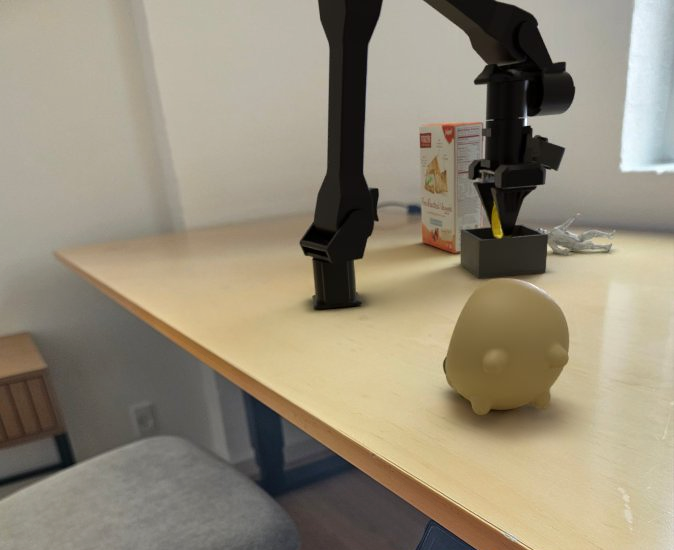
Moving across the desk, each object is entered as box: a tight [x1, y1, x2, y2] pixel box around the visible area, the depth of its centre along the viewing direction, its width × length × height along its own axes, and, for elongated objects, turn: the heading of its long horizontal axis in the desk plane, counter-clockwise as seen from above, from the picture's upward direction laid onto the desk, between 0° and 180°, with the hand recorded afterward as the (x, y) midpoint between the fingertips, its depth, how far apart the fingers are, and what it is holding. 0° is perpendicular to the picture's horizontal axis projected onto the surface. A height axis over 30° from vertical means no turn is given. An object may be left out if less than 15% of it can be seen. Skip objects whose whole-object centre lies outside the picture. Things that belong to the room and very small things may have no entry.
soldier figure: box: [537, 212, 616, 255], centre depth 110 cm, size 8×5×12 cm
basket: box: [460, 223, 548, 280], centre depth 102 cm, size 11×10×6 cm
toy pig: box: [442, 277, 570, 416], centre depth 54 cm, size 10×12×11 cm
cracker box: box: [419, 121, 485, 254], centre depth 118 cm, size 14×6×21 cm, turn 17°
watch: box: [492, 202, 511, 238], centre depth 100 cm, size 6×3×6 cm, turn 7°
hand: (501, 232), depth 101 cm, fingers closed on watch, 6 cm apart
